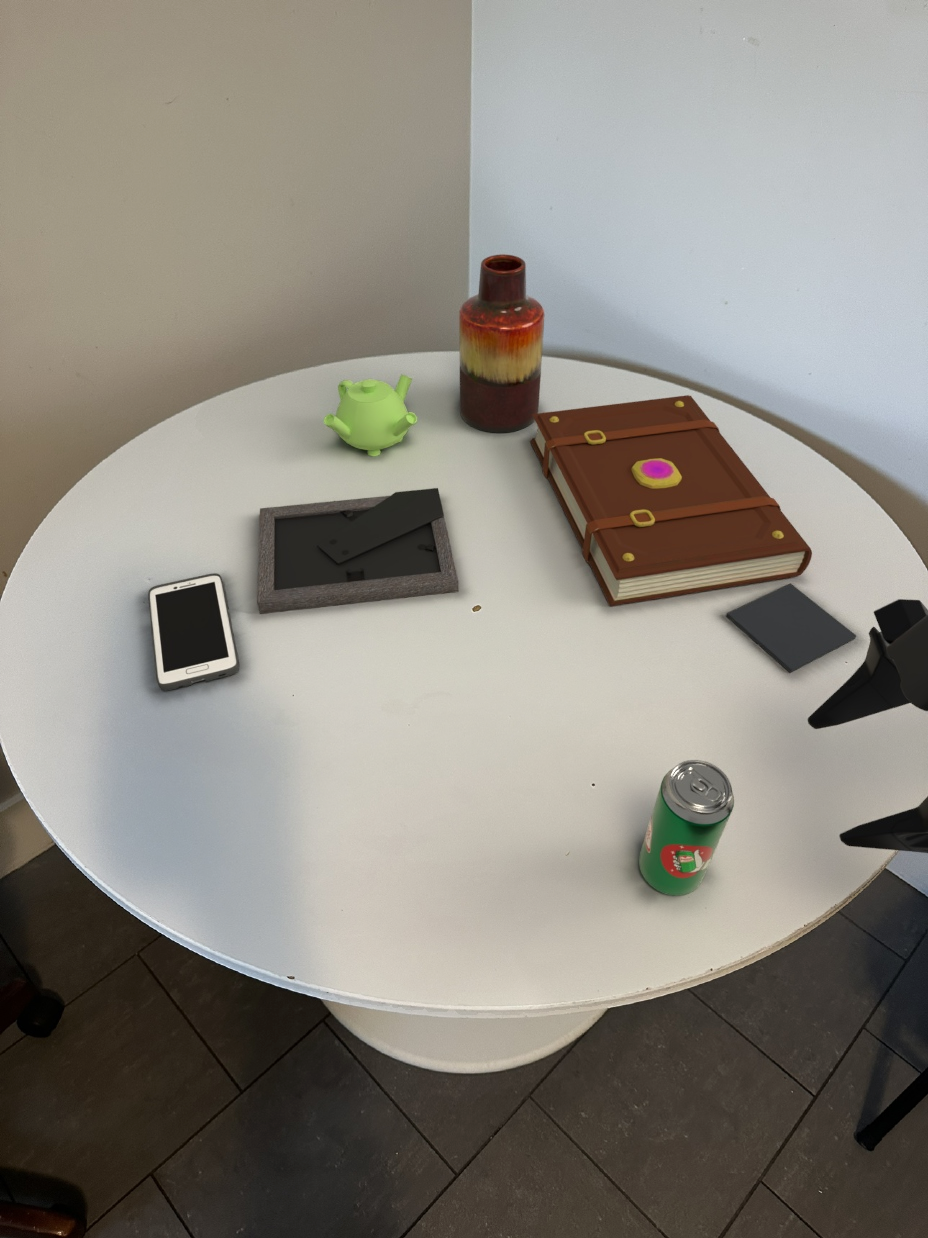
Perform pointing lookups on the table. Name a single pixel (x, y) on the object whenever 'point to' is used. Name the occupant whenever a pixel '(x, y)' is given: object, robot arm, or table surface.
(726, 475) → the book
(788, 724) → the table surface
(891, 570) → the table surface
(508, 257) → the vase
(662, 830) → the soda can
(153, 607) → the cell phone
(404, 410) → the teapot
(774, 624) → the coaster mat
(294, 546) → the picture frame
